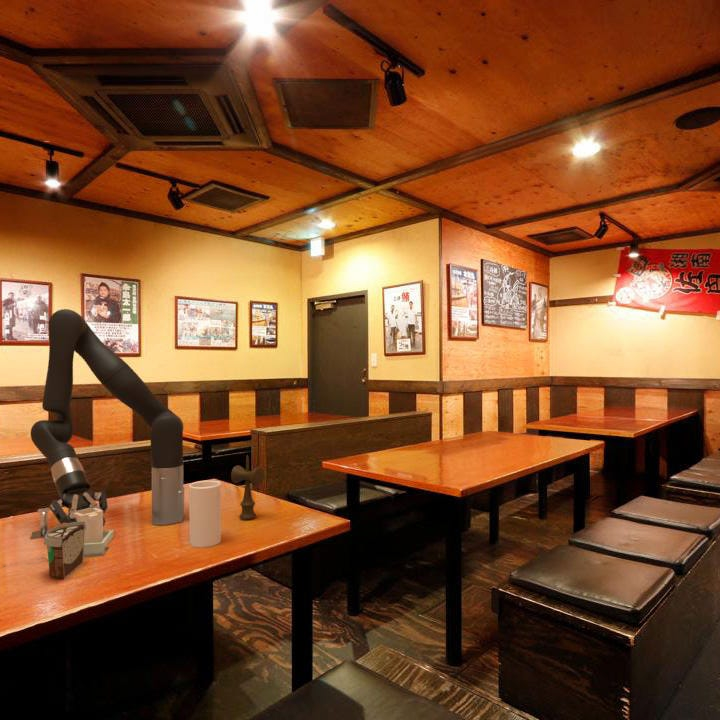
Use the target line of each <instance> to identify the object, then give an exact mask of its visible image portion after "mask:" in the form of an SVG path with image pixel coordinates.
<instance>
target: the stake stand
mask: <svg viewBox="0 0 720 720" xmlns="http://www.w3.org/2000/svg"><path fill="white" fill-rule="evenodd" d="M50 511H51V509H50V507H45V508H39V509H37V513H38V514H39V513H40V530H37V531H31V532H32V533H31V535H30V539H29V540H31V541H32V540H37V539H44V538H45V535H46V533H47V531H48V530H49V529H48V513H49V512H50Z"/></svg>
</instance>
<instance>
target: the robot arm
mask: <svg viewBox="0 0 720 720" xmlns="http://www.w3.org/2000/svg"><path fill="white" fill-rule="evenodd" d="M47 324H48V339H49V340H48V341H49V342H48V343H49V347H48V349H49V351H48V366H47V372H46V379H45V383H44V384H45V385H44V392H43V396H42V397H43V398H42V404H41V405H42V409H43V411H44V412H45V411H46V412H50V413H53V414H54V415H55V418H56V420H53V419H51V420H48V419H43V420H38V421H36V422H35V423H34V424H33V425H32V426H31V428H30V439H31V441H32V443H33V445H34V446H35V447H36V448H37V449H38V451H39V452H40V453H41V454H42V455H43V457H44V458H45V459H46V460H47V463H48V465H49V469H50V471H51V476H52V479H53V483H54V485H55V487H56V489H57V493H58V496H59V498H60V499H59V500H57V499H54V500H52V502H51V503H50V505H49V508H50V511H51V512H52V514H53V515H54V517H55V518H56V520H57V521H58V523H59V524H60V525H63V524H68V523H73V522H77V520H76V519H75V514H74V513H76V511H77V510H82V509H86V508H97V509H100V510H103V515H104V514H105V513H106V511H107V509H108V508H109V507H108V506H109V504H108V500H107V494H106V491H105V490H101V491H100V492H95V491H93V490H92V488H91V484H90V482H89V480H88V479H89V478H88V477H87V474H86V471H85V469H84V467H83V465H82V462H80V460H79V458H78V455H77V453H76V450H75V448H74V446H73V445H72V444H70V443H69V442H70V441H71V440H72V438H73V436H74V423H73V419H72V412H71V404H72V403H71V402H72V396H73V388H74V356H75V355H74V354H75V353H77V355H79V357H80V358H81V359H82V360H83V361H84V362H85V364H86V365H87V366H88V368H89V369H90V371H91V372H92V373H93V375H94V376H95V377H96V379H97V380H98V381H99V383H101V385H102V386H103V387H104V388H105V389H106V390H107V391H108V392H109V393H110V394H111V395H113V397H114V398H116V399H117V400H118V401H120V402H121V403H122V404H123V405H125V406H126V407H128V408H129V409H131V410H133V412H135V413H136V414H138V416H140V417H141V419H142V420H143V421H144V422H145V423H146V425H147V426H148V427H149V428H150V460H151V523H152V524H153V525H157V526H166V525H167V526H168V525H172V524H177V523H182V522H183V521H184V518H185V487H184V451H183V450H184V443H183V442H184V439H183V438H184V435H183V433H184V422H183V421H182V419H181V418H180V416H178V414H176V413H174V412H173V411H172V410H171V409H170V408H169V407H167V406H166V405H165V404H164V403H163V402H161V401H160V400H159V399H158V397H156V395H155V394H154V393H153V391H151V389H150V387H148V385H147V384H146V383H145V382H144V380H143V379H142V378H141V377H140V376H139V375H138V374H137V372H135V371H134V369H133V368H132V367H131V366H130V365H129V364H128V363H127V362H125V360H123V358H121V357H120V356H119V355H118V354H116V352H114V351H113V350H112V349H111V348H109V347H108V346H107V345H105V343H103V342H102V340H101V339H100V338H99V337H98V336H97V334H96V333H95V332H94V331H93V330H92V328H91V327H90V326H89V324H88V323H87V321H86V320H85V318H84V317H82V316H81V315H80V314H79V313H78V312H76V311H74V310H72V309H69V308H67V309H66V308H63V309H58V310H55V312H53V313H52V314H51V316H50V317H49V320H48V323H47ZM94 499H95V500H96V501H97V502H98V503H97V502H96V501H95V500H94ZM62 506H63V507H64V508H67V509H68V511H67V513H66V512H65V511H64V509H63V507H62ZM105 524H106V519H105V517H104V516H103V527H104V526H105Z"/></svg>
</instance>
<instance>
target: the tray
mask: <svg viewBox="0 0 720 720" xmlns="http://www.w3.org/2000/svg"><path fill="white" fill-rule="evenodd" d="M113 537H115V531H114V529H112V530H111V529H107V530H103V540H102V541H101V542H97V543H86V544H84V555H83V558H89V557H101V556H104V555H105V554H106V552H107V551H108V550H109V549H110V546H107V545H108V544H109V543H110V542H111V540H112V539H113Z"/></svg>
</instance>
